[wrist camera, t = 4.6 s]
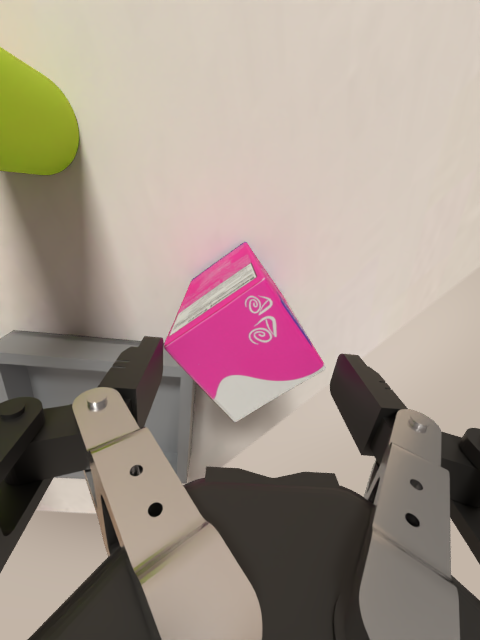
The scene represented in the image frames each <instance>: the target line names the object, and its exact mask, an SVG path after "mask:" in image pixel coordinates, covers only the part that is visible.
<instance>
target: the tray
mask: <svg viewBox="0 0 480 640" xmlns="http://www.w3.org/2000/svg"><path fill="white" fill-rule="evenodd" d="M140 343H141V341H131V340H120V339H108V338H97V337H85V336H73V335H62V334H50V333H39V332H27V331H16V330H13V331H12V332H10V333H9V334H7V335H6V336H4V337H2V338H1V339H0V403H2V402H4V401H7V400H10V399H13V398H18V397H34V398H37V399H39V400H40V401H41V403H42V406H43V409H46V408H52V407H59V406H66V405H70V404H73V402H74V400H75V399H76V398H77V397H78V396H79V395H80V394H82V393H83V392H85V391H88V390H90V389H94V388H97V387H98V385H99V384H100V382H101V381H102V380H103V378H104V377H105V375H106V374H107V372H108V371H109V369H110V368H111V367H112V365H113V364H114V362H115V361H116V359H117V358H118V357H119V355H120V354H121V352H123V351H124V350H126V349H127V348H129V347H131V346H133V347H138V346H139V345H140ZM164 344H165V343H163V375H162V380H161V383H160V386H159V388H158V391H157V394H156V396H155V399H154V402H153V404H152V407H151V410H150V412H149V415H148V418H147V420H146V423H145V426H144V427H147V428H148V429H149V431H150V432H151V434H152V435H153V437H154V439H155V440H156V442H157V444H158V445H159V447H160V448H161V450H162V452H163V453H164V455H165V457H166V458H167V460H168V462H169V463H170V465H171V467H172V468H173V470H174V471H175V473H176V475H177V476H178V478H179V480H180V481H181V483H187V476H188V469H189V462H190V456H191V443H192V428H193V413H194V399H195V384H196V382H195V381H194V380H193V379H192V378H191V377H190V376H189V375H188V374H187V373H186V371H185V370H184V369H183V368H182V367H181V366H180V365H179V364H178V363H177V362H176V361H175V360H174V359H173V358H172V357H171V356H170V354H169V353H168V352H167V351H166V350H165V349H164ZM56 478H78V479H86V478H85V475H84V472H83V471H79V472H75V473H70V474H66V475H62V476H57V477H56Z"/></svg>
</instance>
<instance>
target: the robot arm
mask: <svg viewBox="0 0 480 640" xmlns="http://www.w3.org/2000/svg"><path fill="white" fill-rule="evenodd" d="M162 375H163V338H159V337H148V336H145V337H144V338H143V340H142V341H141V343H140V345H139V346H138V347H133V346H131V347H129V348H127V349H126V350H124V351H123V352H121V354H120V355H119V357H118V358H117V359H116V361H115V362H114V364H113V365H112V367H111V368H110V369H109V371H108V372H107V374H106V375H105V377H104V378H103V380H102V381H101V382H100V384H99V385H98V387H97V388H94V389H90V390H88V391H85V392H83V393H82V394H80V395H79V396H78V397H77V398H76V399H75V400H74V402H73V404H70V405H66V406H59V407H52V408H46V409H43V406H42V403H41V401H40V400H39V399H37V398H34V397H18V398H13V399H10V400H7V401H4V402H2V403H0V573H1V571H2V569H3V567H4V565H5V564H6V562H7V560H8V558H9V556H10V555H11V553H12V551H13V549H14V547H15V546H16V544H17V542H18V540H19V538H20V537H21V535H22V533H23V531H24V530H25V528H26V526H27V524H28V522H29V521H30V519H31V517H32V515H33V513H34V511H35V510H36V508H37V506H38V504H39V503H40V501H41V499H42V497H43V495H44V494H45V492H46V490H47V488H48V486H49V485H50V483H51V481H52V479H53V478H54V477H57V476H62V475H66V474H70V473H75V472H79V471H83V472H84V475H85V478H86V481H87V485H88V488H89V491H90V494H91V497H92V500H93V504H94V507H95V510H96V513H97V516H98V520H99V524H100V528H101V532H102V537H103V541H104V544H105V548H106V551H107V554H108V558H107V559H106V560H105V561H104V562H103V563H102V564H101V565H100V566H99V567H98V568H97V569H96V570H95V571H94V572H93V573H92V574H91V575H90V577H88V578H87V580H85V582H83V583H82V585H81V586H80V587H79V588H78V589H77V590H76V591H75V592H74V593H73V594H72V595H71V596H70V597H69V598H68V599H67V600H66V601H65V602H64V603H63V604H62V605H61V606H60V607H59V608H58V609H57V610H56V611H55V612H54V613H53V614H52V615H51V616H50V617H49V618H48V619H47V620H46V622H44V623H43V625H42V626H41V627H40V628H39V629H38V630H37V631H36V632H35V633H34V634H33V635H32V636H31V637H30V638H29V639H28V640H480V601H479V600H478V599H477V598H476V597H475V596H474V595H473V594H472V593H471V592H469V591H468V590H467V589H466V588H465V587H464V586H463V585H461V583H460V582H458V581H457V580H456V579H455V578H454V577H453V576H452V575H451V558H450V557H451V554H450V553H451V551H450V518H451V519H452V521H453V522H454V524H455V526H456V527H457V529H458V530H459V532H460V534H461V535H462V537H463V538H464V540H465V541H466V543H467V545H468V546H469V548H470V549H471V551H472V553H473V554H474V556H475V557H476V559H477V561H478V562H479V564H480V429H477V428H470V429H468V430H467V431H466V432H465V434H464V436H463V437H462V438H461V437H458V436H454V435H451V434H447V433H444V432H441V430H440V428H439V426H438V425H437V424H436V423H435V422H434V421H433V420H432V419H430V418H429V417H427V416H426V415H424V414H422V413H420V412H417V411H414V410H410V409H408V408H406V406H405V405H404V404H403V403H402V401H401V400H400V399H399V398H398V396H397V395H396V394H395V393H394V392H393V390H391V388H390V387H389V386H388V384H387V383H385V381H384V379H383V378H382V377H381V376H380V375H379V374H378V373H377V372H376V371H374V370H373V369H371V368H370V367H367V365H366V364H365V363H364V362H363V360H362V359H361V358H360V357H359V356H358V355H351V354H340V355H339V357H338V359H337V362H336V365H335V369H334V372H333V375H332V378H331V382H330V392H331V395H332V397H333V399H334V401H335V403H336V405H337V407H338V409H339V411H340V413H341V415H342V417H343V419H344V421H345V423H346V425H347V427H348V429H349V431H350V433H351V435H352V437H353V439H354V441H355V443H356V445H357V447H358V449H359V451H360V453H361V455H368V456H375V458H376V461H375V463H374V465H373V468H372V471H371V475H370V478H369V481H368V484H367V488H366V491H365V494H364V497H362V496H361V495H359V494H357V493H356V492H354V491H352V490H350V489H347V488H345V487H343V486H339V484H338V481H337V479H336V476H335V474H334V473H333V474H332V473H314V472H301V473H297V474H292V475H287V476H282V477H278V478H269V477H266V476H263V475H259V474H255V473H252V472H249V471H246V470H242V469H239V468H221V467H206V476H205V478H202V479H198V480H195V481H192V482H190V483H187V484H185V485H182V483H181V481H180V480H179V478H178V476H177V475H176V473H175V471H174V470H173V468H172V467H171V465H170V463H169V462H168V460H167V458H166V457H165V455H164V453H163V452H162V450H161V448H160V447H159V445H158V444H157V442H156V440H155V439H154V437H153V435H152V434H151V432H150V431H149V429H148V428H147V427H144V426H145V423H146V420H147V418H148V415H149V412H150V410H151V407H152V404H153V402H154V399H155V396H156V394H157V391H158V388H159V386H160V383H161V380H162Z"/></svg>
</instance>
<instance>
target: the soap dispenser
mask: <svg viewBox="0 0 480 640" xmlns="http://www.w3.org/2000/svg"><path fill="white" fill-rule="evenodd" d="M78 144H79V130H78V124H77V120H76V117H75V114H74V111H73V109H72V107H71V105H70V103H69V101H68V100H67V98H66V97H65V95H64V94H63V93H62V91H61V90H60V89H59V88H58V87H57V86H56V85H55V84H54V83H53V82H52V81H51V80H50V79H48V78H47V77H46V76H44V75H43V74H41V73H40V72H38V71H36V70H35V69H33V68H32V67H30V66H29V65H27V64H26V63H24V62H22V61H21V60H19V59H18V58H16V57H15V56H13V55H12V54H10V53H9V52H7V51H5V50H4V49H2V48H1V47H0V171H8V172H17V173H27V174H36V175H52V174H56V173H59V172H61V171H62V170H64V169H65V168H67V167H68V166H69V165H70V163H71V162H72V161H73V159H74V157H75V155H76V152H77V149H78Z"/></svg>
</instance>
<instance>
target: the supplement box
mask: <svg viewBox="0 0 480 640" xmlns="http://www.w3.org/2000/svg"><path fill="white" fill-rule="evenodd" d="M164 349H165V350H166V351H167V352H168V353H169V354H170V356H171V357H172V358H173V359H174V360H175V361H176V362H177V363H178V364H179V365H180V366H181V367H182V368H183V369H184V370H185V371H186V373H187V374H188V375H189V376H190V377H191V378H192V379H193V380H194V381H195V382H196V383H197V384H198V385H199V386H200V387H201V388H202V389H203V390H204V391H205V393H206V394H207V395H208V396H209V397H210V398H211V399H212V400H213V401H214V402H215V403H216V404H217V405H218V406H219V407H220V408H221V409H222V410H223V411H224V412H225V413H226V414H227V415H228V416H229V417H230V418H231V419H232V420H233V422H237V421H239V420H240V419H242V418H244V417H245V416H247V415H249V414H250V413H252V412H253V411H255V410H257V409H258V408H260V407H262V406H263V405H265V404H267V403H268V402H270V401H272V400H273V399H275V398H277V397H278V396H280V395H282V394H284V393H285V392H287V391H289V390H291V389H292V388H294V387H296V386H298V385H299V384H301V383H303V382H305V381H306V380H308V379H310V378H311V377H313V376H315V375H317V374H318V373H320V372H322V371H324V370H325V368H326V367H325V364H324V362H323V361H322V359H321V358H320V356H319V354H318V353H317V351H316V349H315V348H314V346H313V344H312V343H311V341H310V339H309V338H308V336H307V334H306V333H305V331H304V329H303V327H302V326H301V324H300V323H299V321H298V319H297V318H296V316H295V314H294V313H293V311H292V309H291V308H290V306H289V304H288V303H287V301H286V300H285V298H284V296H283V295H282V294H281V292H280V291H279V289H278V288H277V286H276V285H275V283H274V282H273V280H272V279H271V278H270V276H269V275H268V273H267V272H266V270H265V269H264V267H263V266H262V265H261V263H260V262H259V260H258V259H257V257H256V256H255V254H254V253H253V251H252V250H251V248H250V247H249V245H248V244H247V242H244V243H242V244H241V245H240V246H238V247H237V248H235V249H234V250H233V251H231V252H230V253H229V254H227V255H226V256H224V257H223V258H221V259H220V260H219V261H217V262H216V263H215V264H213V265H212V266H210V267H209V268H208V269H206V270H205V271H203V272H202V273H201V274H199V275H198V276H197V277H195V278H194V279H193V280H192V281H191V283H190V285H189V288H188V290H187V292H186V295H185V297H184V299H183V302H182V304H181V306H180V309H179V311H178V313H177V316H176V318H175V321H174V323H173V325H172V328H171V330H170V332H169V334H168V336H167V339H166V341H165V344H164Z"/></svg>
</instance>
